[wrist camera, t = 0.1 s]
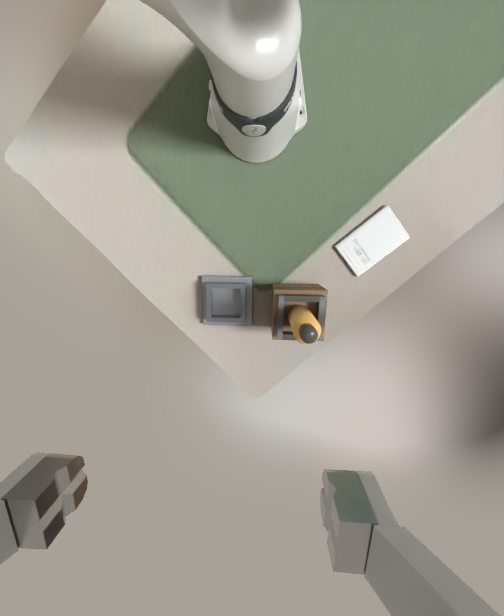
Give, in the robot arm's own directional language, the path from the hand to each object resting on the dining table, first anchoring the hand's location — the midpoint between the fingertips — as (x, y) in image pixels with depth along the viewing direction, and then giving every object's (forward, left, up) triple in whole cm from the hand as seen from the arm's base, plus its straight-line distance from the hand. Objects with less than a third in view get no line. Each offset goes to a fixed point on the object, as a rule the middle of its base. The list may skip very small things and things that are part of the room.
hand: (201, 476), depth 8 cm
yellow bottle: (+5, +9, -40) cm, 41 cm away
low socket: (+4, -6, -48) cm, 48 cm away
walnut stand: (+5, +9, -48) cm, 49 cm away
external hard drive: (-9, +24, -49) cm, 55 cm away
